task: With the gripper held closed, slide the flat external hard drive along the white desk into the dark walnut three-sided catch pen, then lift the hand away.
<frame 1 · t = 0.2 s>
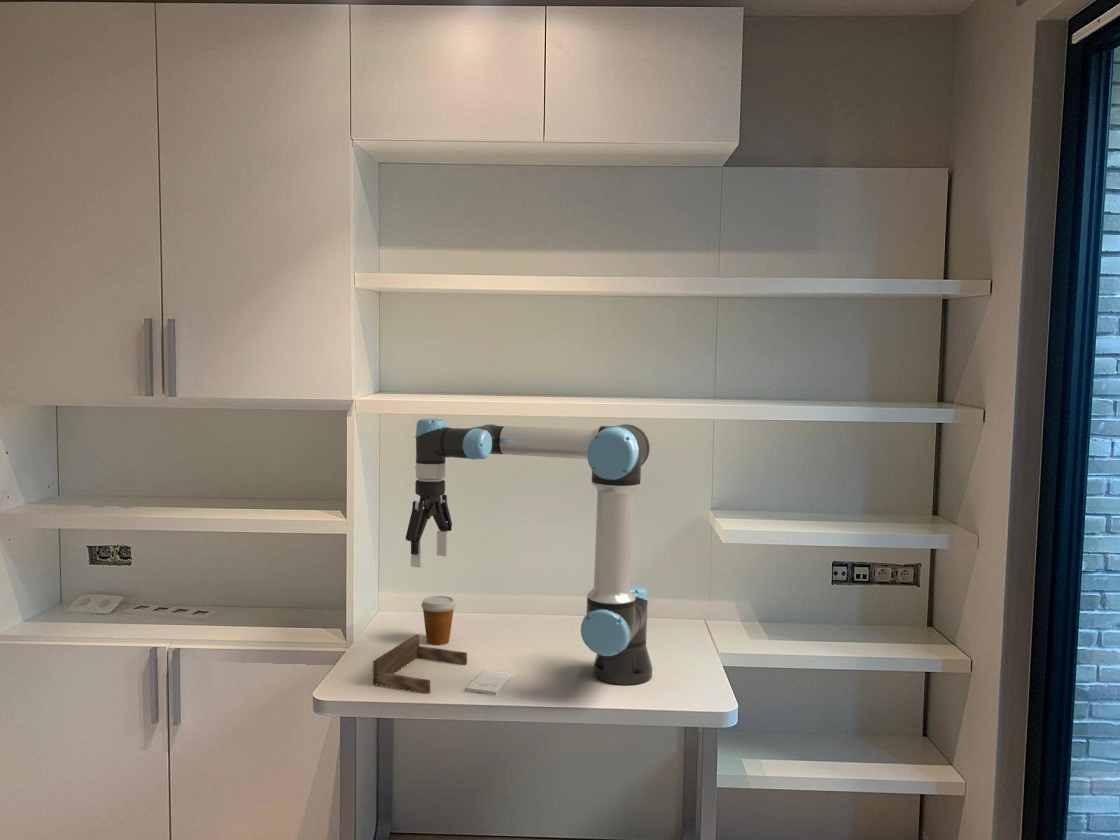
hand: (429, 561, 223), 28 cm above the table, tool pointing down, fingers open, 13 cm apart
disposable coffee cup: (437, 642, 244), on the table
catch pen: (423, 674, 219), on the table
external hard drive: (489, 687, 213), on the table
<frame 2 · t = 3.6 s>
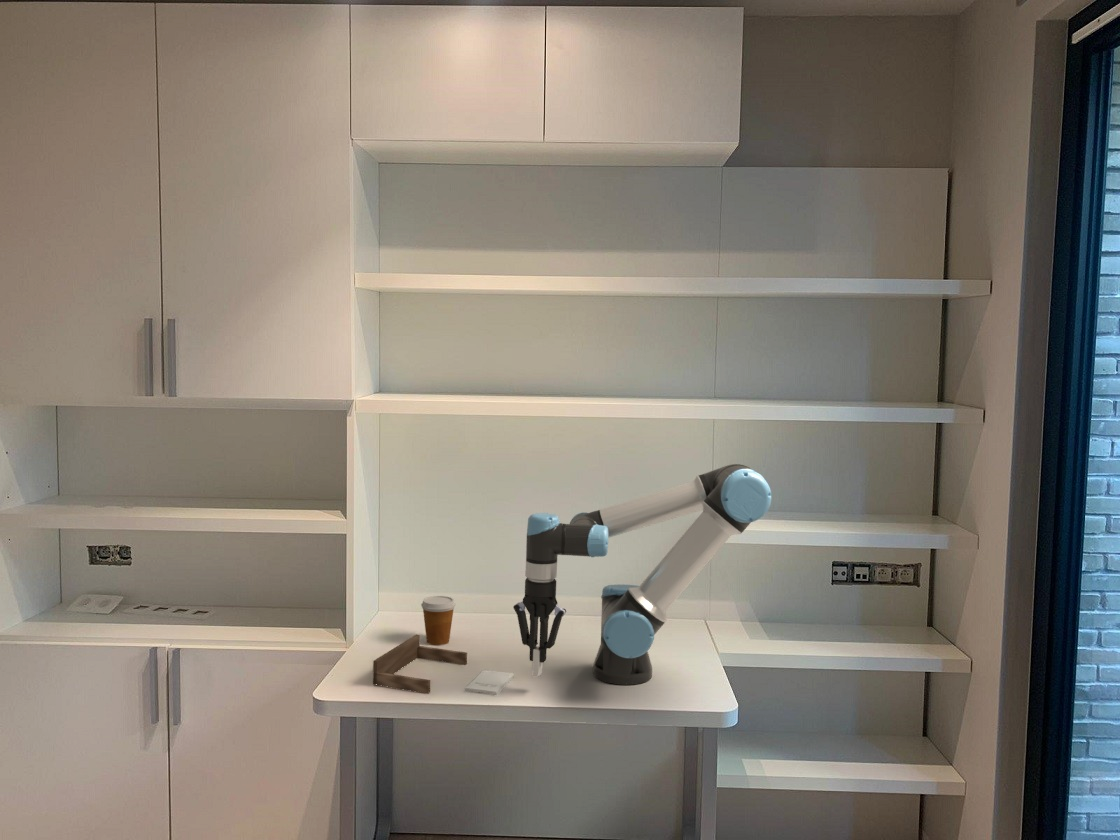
hand: (537, 674, 209), 4 cm above the table, tool pointing down, fingers closed
nothing on the table moved.
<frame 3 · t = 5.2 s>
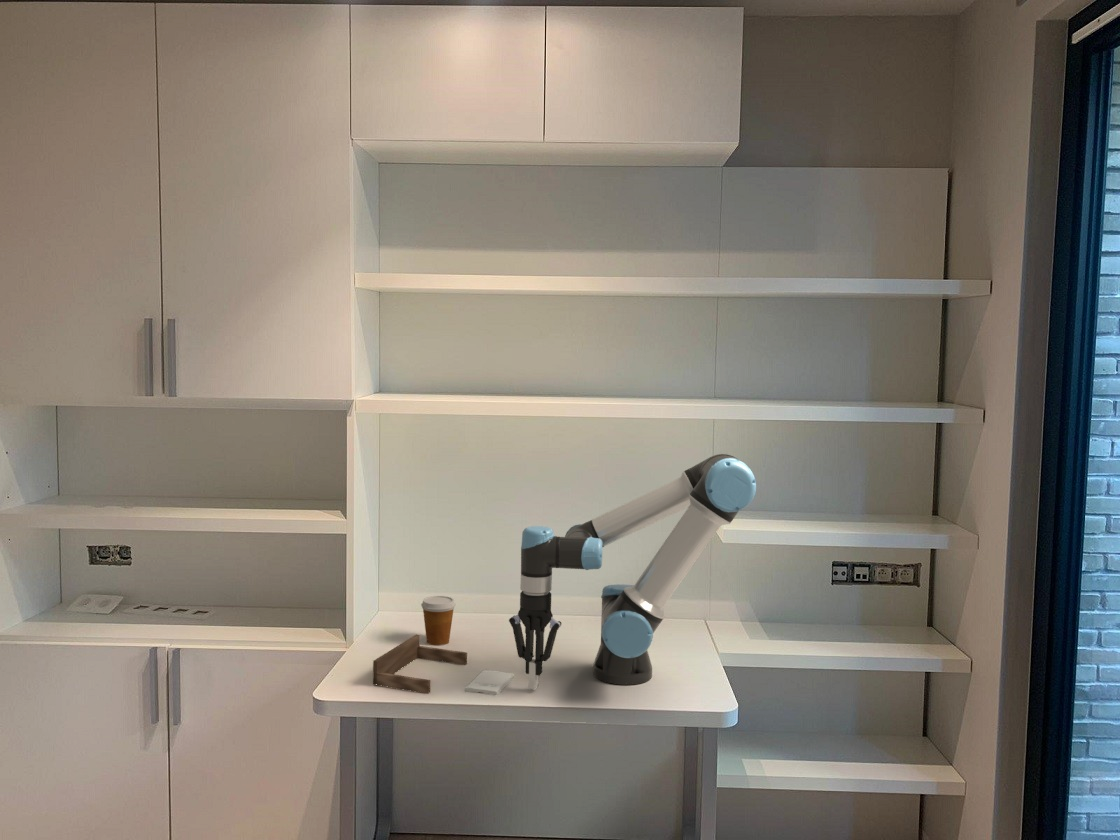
hand: (533, 687, 210), 1 cm above the table, tool pointing down, fingers closed
nothing on the table moved.
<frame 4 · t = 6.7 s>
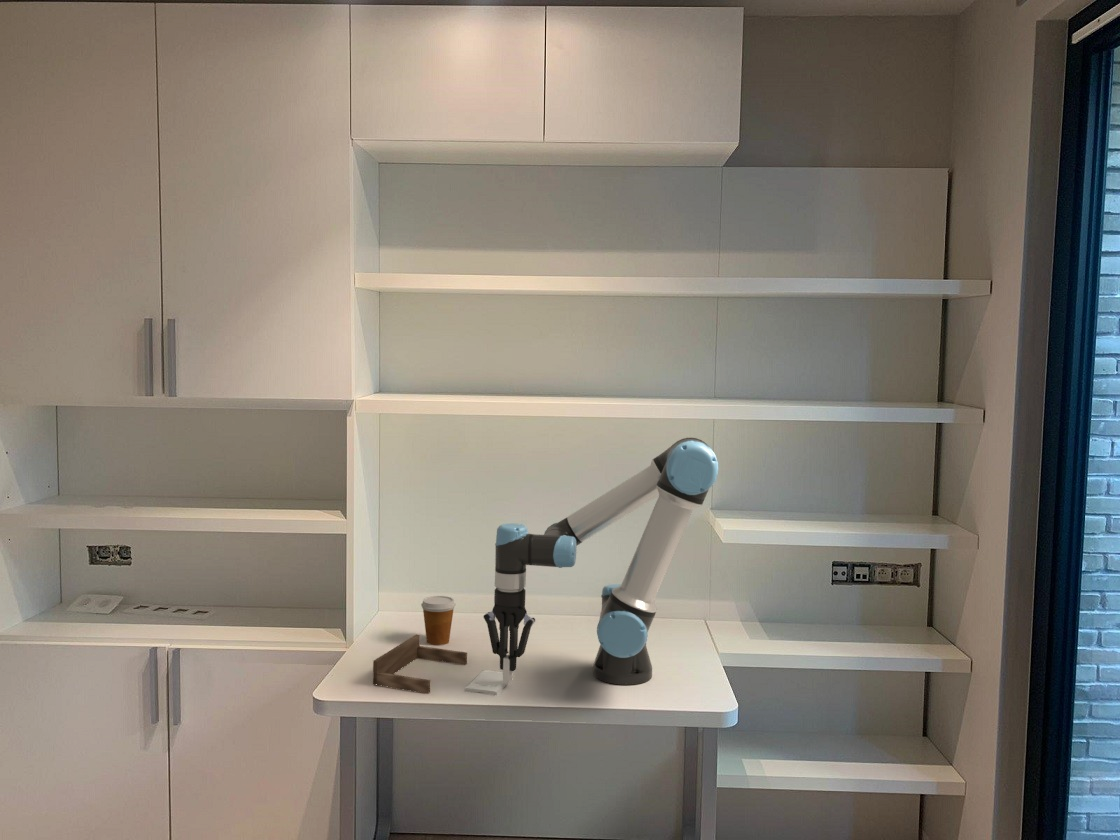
hand: (507, 682, 212), 1 cm above the table, tool pointing down, fingers closed
external hard drive: (489, 687, 214), on the table, touching gripper
everything else where it was.
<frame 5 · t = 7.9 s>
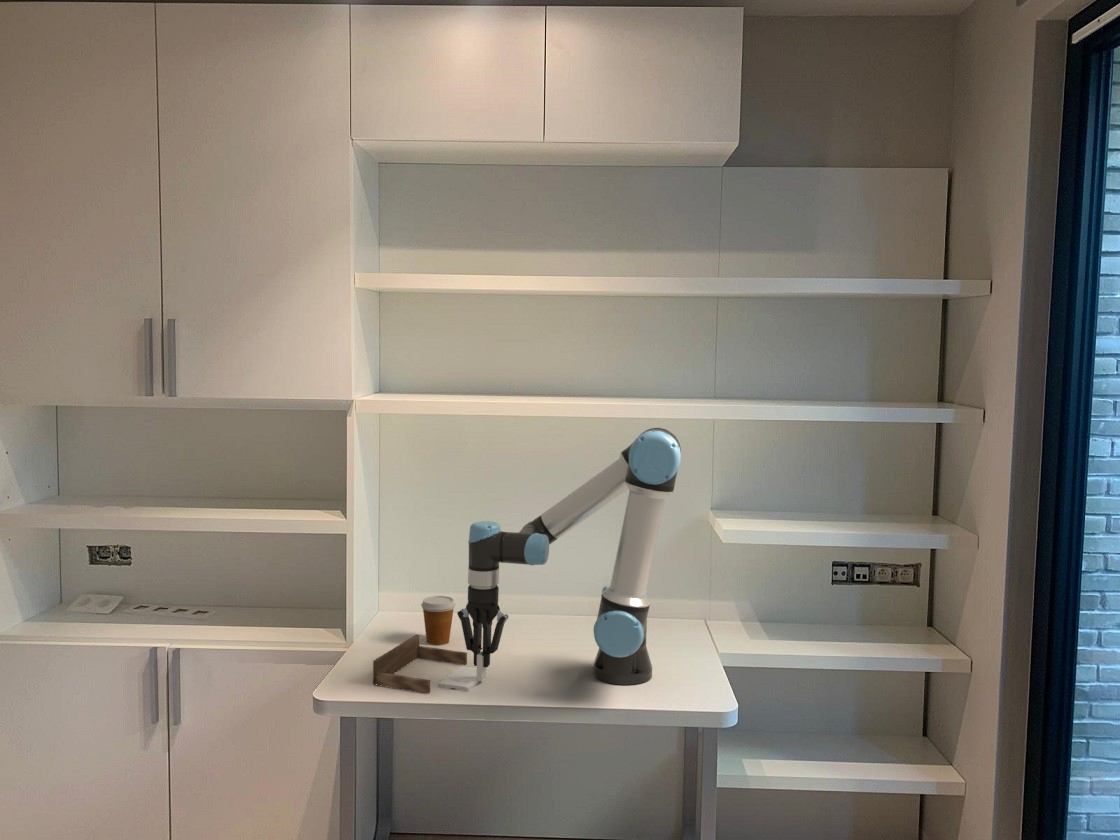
hand: (481, 678, 214), 1 cm above the table, tool pointing down, fingers closed
external hard drive: (463, 683, 216), on the table
everything else where it was.
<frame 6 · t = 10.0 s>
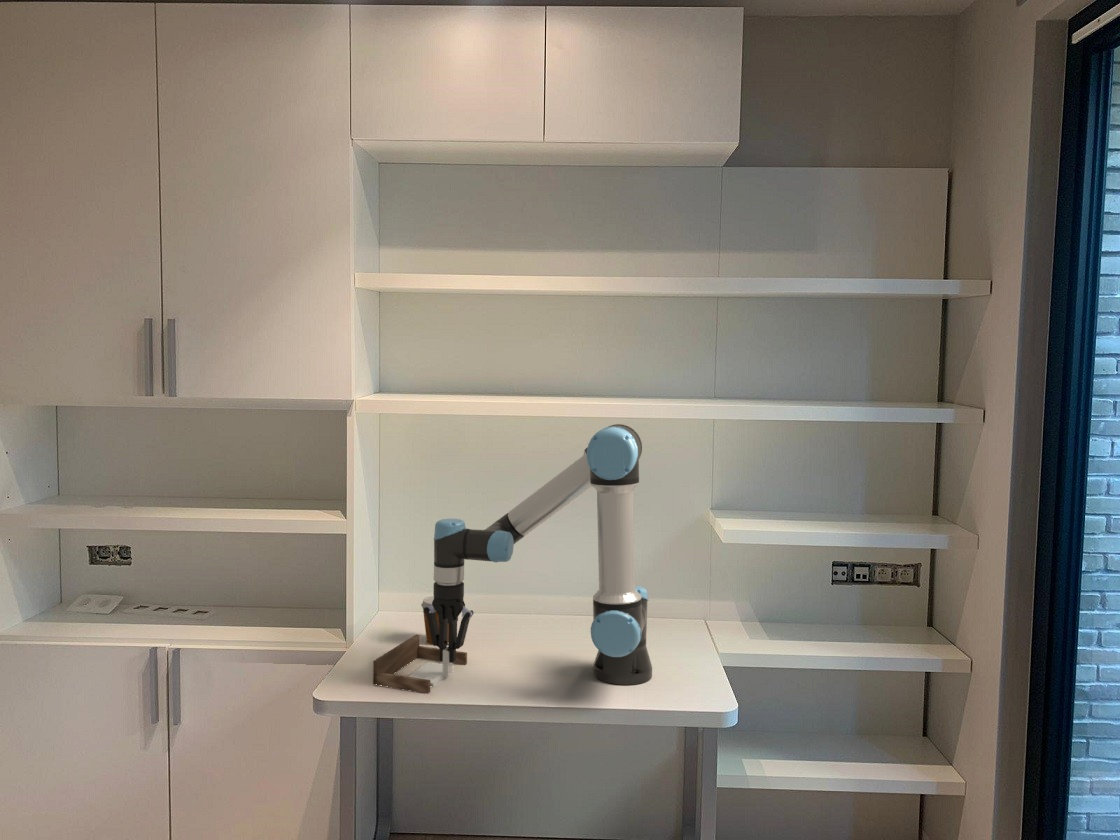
hand: (447, 674, 217), 1 cm above the table, tool pointing down, fingers closed
external hard drive: (429, 679, 218), on the table, touching gripper
everything else where it was.
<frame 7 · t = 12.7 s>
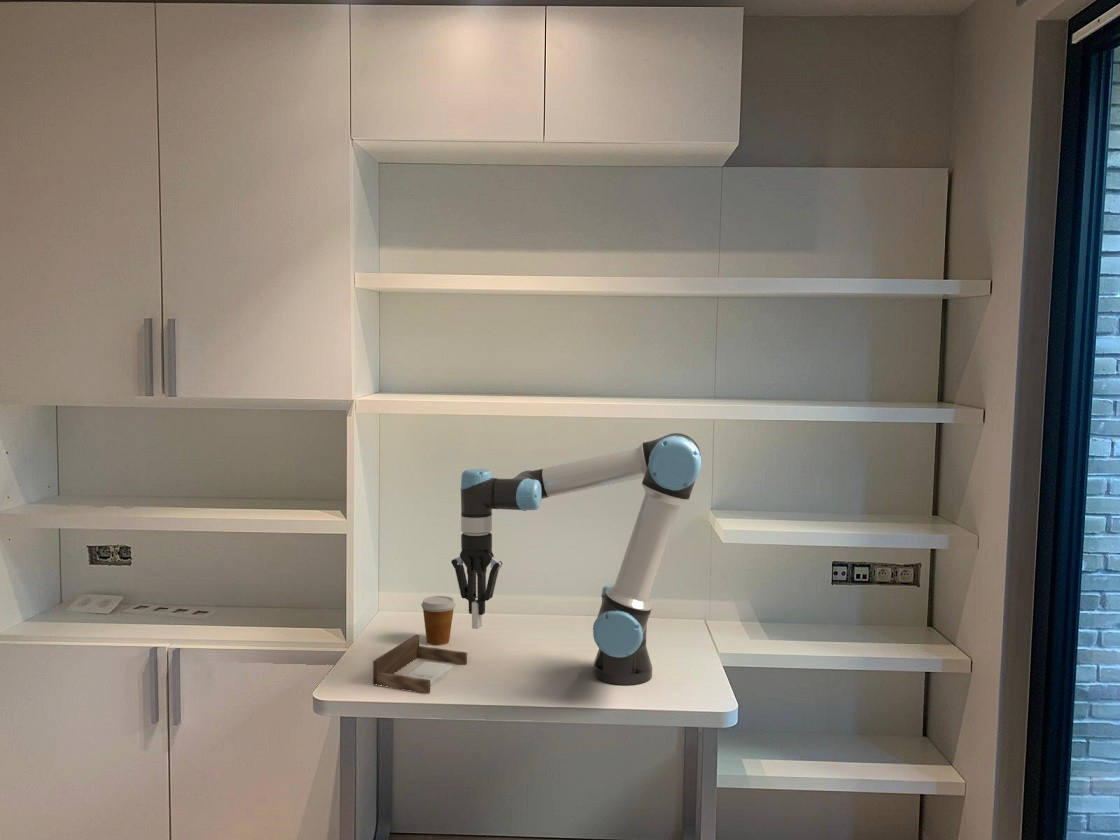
hand: (477, 626, 214), 14 cm above the table, tool pointing down, fingers closed
external hard drive: (426, 678, 218), on the table
everything else where it was.
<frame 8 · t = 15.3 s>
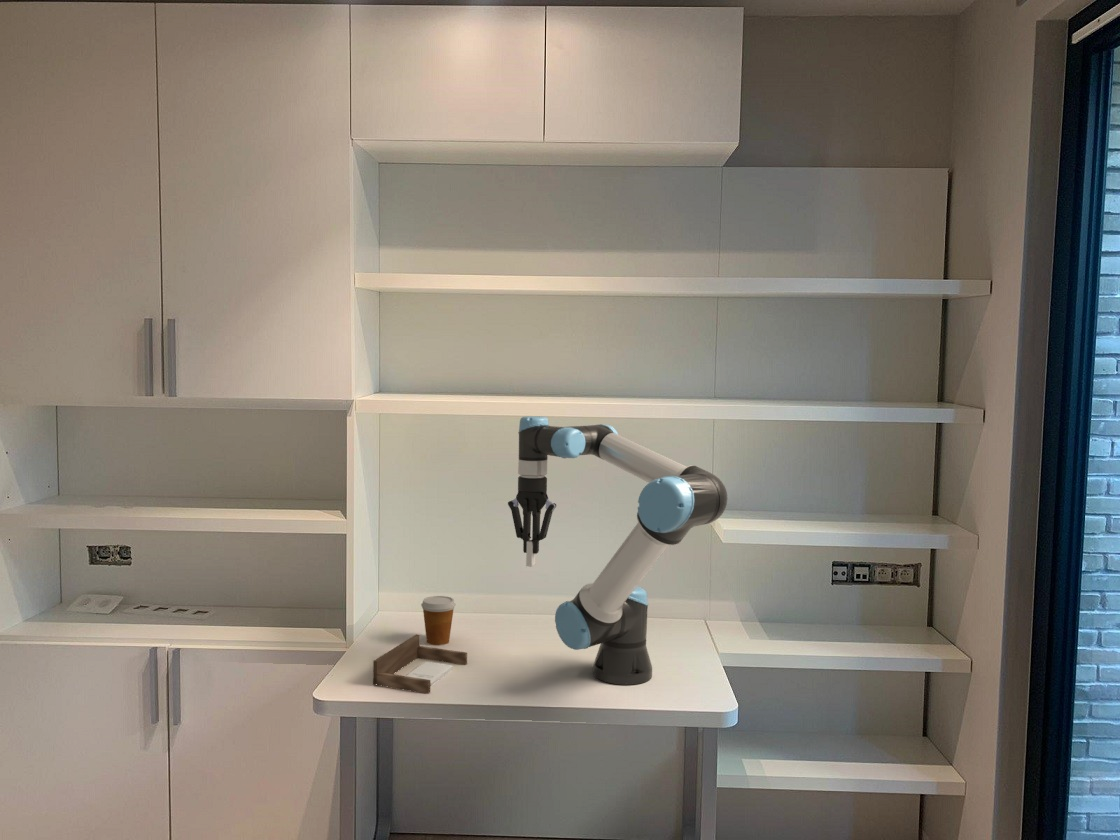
hand: (530, 565, 226), 26 cm above the table, tool pointing down, fingers closed
nothing on the table moved.
at the end: external hard drive inside the target area (1.7 cm from its centre), on the table; external hard drive moved 16.8 cm from its start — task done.
